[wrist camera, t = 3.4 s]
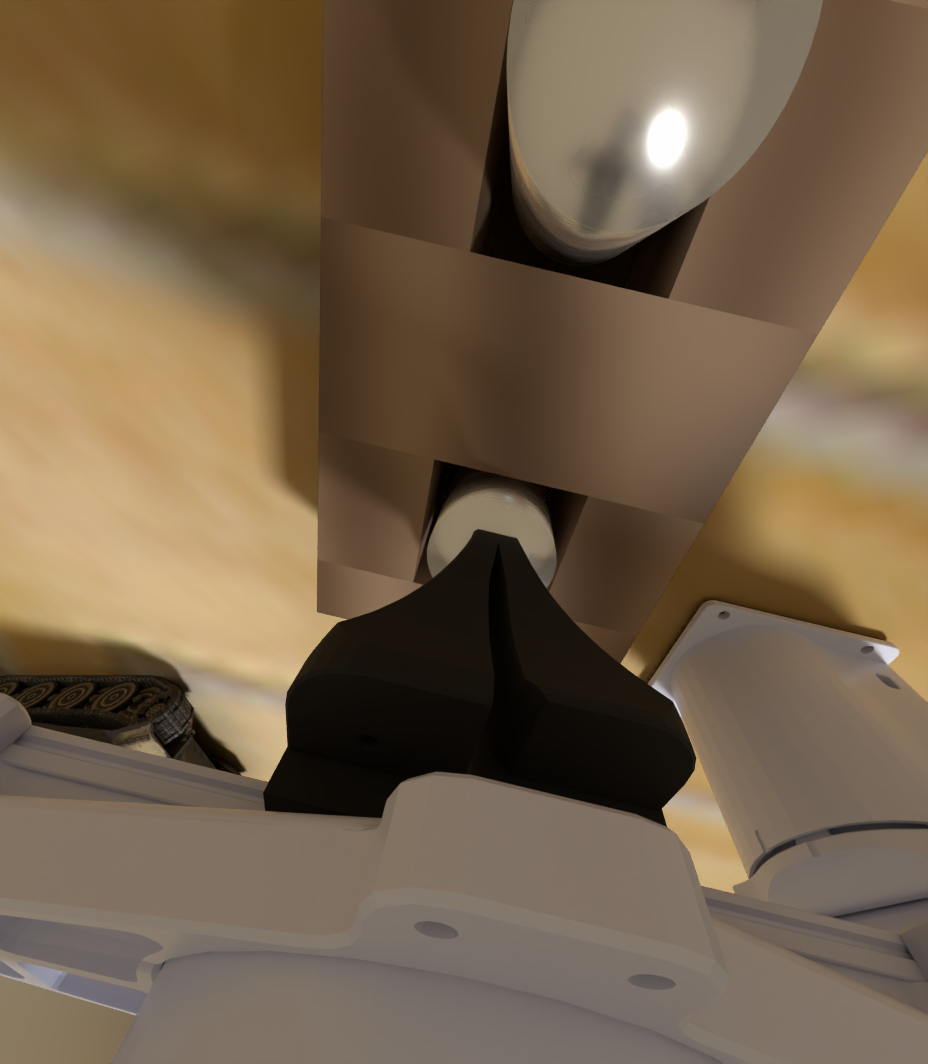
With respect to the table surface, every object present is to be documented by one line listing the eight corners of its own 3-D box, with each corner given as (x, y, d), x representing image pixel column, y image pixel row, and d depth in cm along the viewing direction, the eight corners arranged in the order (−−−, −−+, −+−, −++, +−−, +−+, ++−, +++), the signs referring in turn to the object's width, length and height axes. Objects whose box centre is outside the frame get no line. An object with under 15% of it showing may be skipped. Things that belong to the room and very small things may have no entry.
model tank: (269, 775, 33) (107, 1076, 20) (61, 765, 37) (-190, 1012, 24) (200, 670, 27) (-99, 1002, 14) (-40, 671, 31) (-453, 932, 18)
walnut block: (876, 2, 10) (1173, -257, 5) (588, 601, 20) (609, 682, 15) (412, -105, 10) (328, -450, 5) (360, 547, 20) (316, 612, 15)
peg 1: (559, 464, 15) (575, 521, 11) (529, 548, 17) (534, 623, 13) (459, 440, 15) (438, 488, 11) (442, 527, 17) (418, 595, 13)
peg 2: (715, 67, 8) (914, -183, 4) (638, 281, 10) (719, 256, 6) (538, 25, 8) (559, -266, 4) (493, 247, 10) (478, 199, 6)
